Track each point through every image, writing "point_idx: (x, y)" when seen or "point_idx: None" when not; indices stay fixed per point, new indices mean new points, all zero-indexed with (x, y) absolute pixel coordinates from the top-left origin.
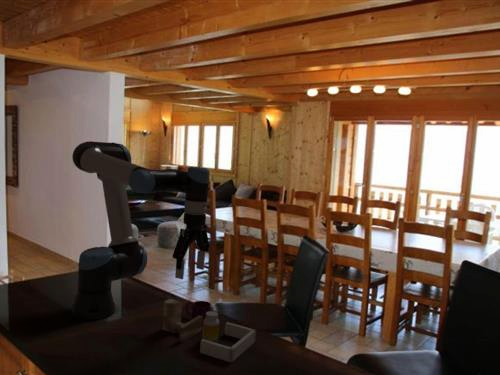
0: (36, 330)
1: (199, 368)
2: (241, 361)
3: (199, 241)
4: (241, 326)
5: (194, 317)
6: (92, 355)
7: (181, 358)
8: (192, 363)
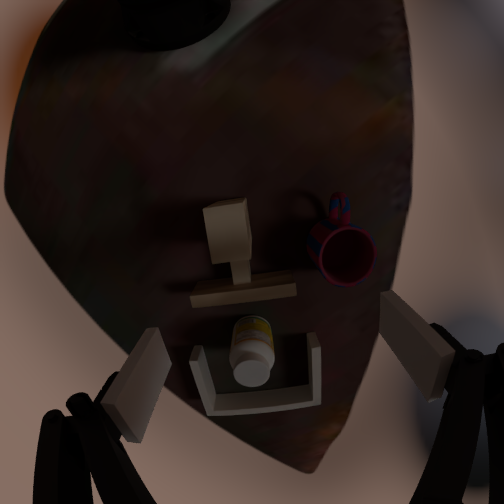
0: (57, 47)
1: None
2: None
3: (421, 484)
4: (318, 379)
5: (310, 245)
6: (48, 198)
7: None
8: None
